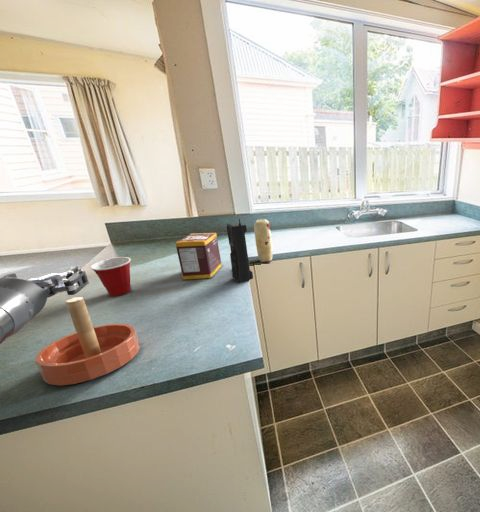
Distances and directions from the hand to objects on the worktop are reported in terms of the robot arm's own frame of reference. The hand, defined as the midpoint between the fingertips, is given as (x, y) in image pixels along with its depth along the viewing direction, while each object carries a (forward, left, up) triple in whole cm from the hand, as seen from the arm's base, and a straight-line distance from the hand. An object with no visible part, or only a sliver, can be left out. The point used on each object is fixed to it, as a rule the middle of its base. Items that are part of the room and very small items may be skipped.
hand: (46, 274), depth 57 cm
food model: (+47, +68, -25) cm, 86 cm away
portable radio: (+35, +48, -25) cm, 65 cm away
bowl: (0, +7, -25) cm, 26 cm away
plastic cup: (-5, +53, -25) cm, 59 cm away
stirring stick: (0, +7, -24) cm, 25 cm away
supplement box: (+21, +63, -25) cm, 71 cm away
